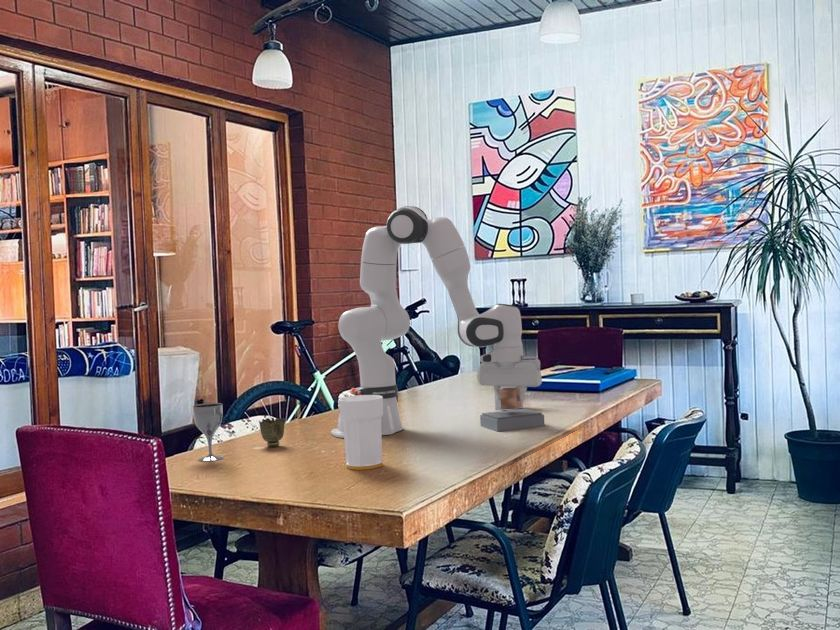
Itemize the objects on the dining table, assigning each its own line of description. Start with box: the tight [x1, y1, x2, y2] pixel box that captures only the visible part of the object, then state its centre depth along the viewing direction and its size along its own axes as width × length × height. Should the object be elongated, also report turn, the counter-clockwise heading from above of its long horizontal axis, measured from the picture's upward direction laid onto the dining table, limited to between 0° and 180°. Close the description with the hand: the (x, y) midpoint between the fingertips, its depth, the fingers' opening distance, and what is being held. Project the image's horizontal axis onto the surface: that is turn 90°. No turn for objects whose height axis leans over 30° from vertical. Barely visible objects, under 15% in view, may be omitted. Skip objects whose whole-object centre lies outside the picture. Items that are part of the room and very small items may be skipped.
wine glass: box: [192, 402, 225, 463], centre depth 238 cm, size 8×8×15 cm
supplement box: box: [493, 386, 524, 411], centre depth 301 cm, size 7×7×13 cm
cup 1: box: [258, 417, 286, 448], centre depth 252 cm, size 8×7×8 cm
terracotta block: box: [500, 388, 521, 410], centre depth 266 cm, size 5×5×6 cm
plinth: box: [479, 408, 546, 432], centre depth 266 cm, size 16×12×4 cm
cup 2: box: [338, 395, 383, 471], centre depth 218 cm, size 11×11×17 cm
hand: (510, 400), depth 266 cm, fingers closed on terracotta block, 5 cm apart
